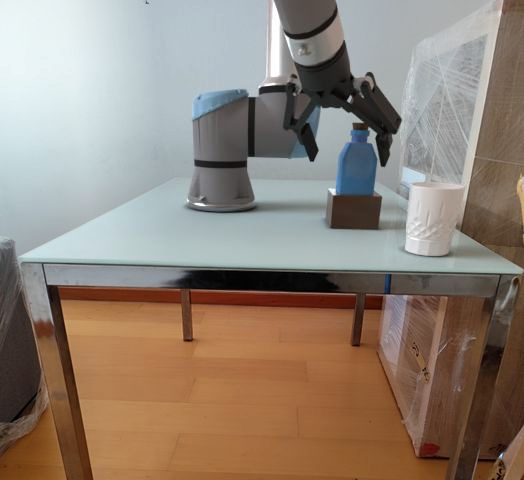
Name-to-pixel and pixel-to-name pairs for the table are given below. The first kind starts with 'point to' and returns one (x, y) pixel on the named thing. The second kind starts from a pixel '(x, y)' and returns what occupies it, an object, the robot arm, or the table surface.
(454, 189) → the white cup
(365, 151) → the perfume bottle
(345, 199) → the walnut block
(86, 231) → the table surface
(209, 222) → the table surface
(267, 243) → the table surface
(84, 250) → the table surface
